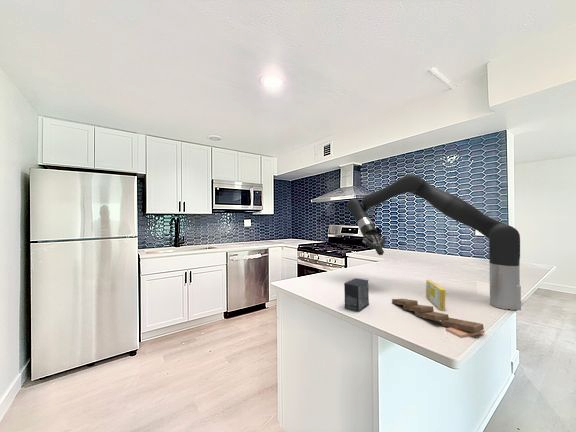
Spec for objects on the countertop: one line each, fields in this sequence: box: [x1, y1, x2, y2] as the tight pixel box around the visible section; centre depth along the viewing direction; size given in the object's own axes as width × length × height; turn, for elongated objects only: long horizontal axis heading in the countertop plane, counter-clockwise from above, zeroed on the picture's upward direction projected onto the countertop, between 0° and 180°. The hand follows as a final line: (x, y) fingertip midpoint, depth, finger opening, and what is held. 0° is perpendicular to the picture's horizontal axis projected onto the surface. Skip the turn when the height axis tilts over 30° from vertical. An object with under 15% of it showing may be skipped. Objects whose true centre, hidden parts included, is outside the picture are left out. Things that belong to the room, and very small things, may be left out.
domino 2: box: [402, 304, 435, 312], centre depth 93 cm, size 2×5×10 cm
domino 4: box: [440, 317, 485, 333], centre depth 79 cm, size 2×5×10 cm
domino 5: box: [445, 327, 486, 339], centre depth 78 cm, size 2×5×10 cm
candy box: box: [425, 279, 446, 311], centre depth 103 cm, size 16×2×8 cm, turn 168°
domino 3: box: [414, 311, 450, 322], centre depth 87 cm, size 2×5×10 cm
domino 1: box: [391, 298, 419, 306], centre depth 100 cm, size 2×5×10 cm
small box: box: [343, 277, 370, 313], centre depth 100 cm, size 11×6×10 cm, turn 141°
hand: (381, 254), depth 117 cm, fingers closed
